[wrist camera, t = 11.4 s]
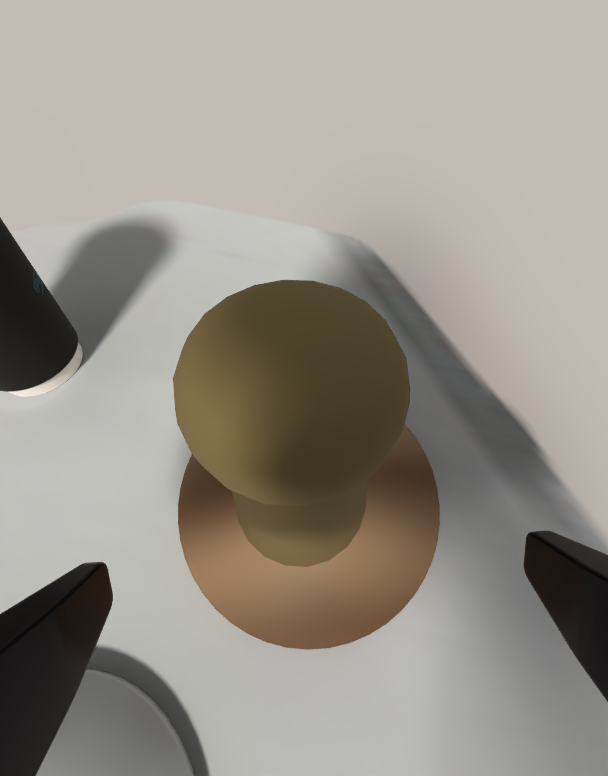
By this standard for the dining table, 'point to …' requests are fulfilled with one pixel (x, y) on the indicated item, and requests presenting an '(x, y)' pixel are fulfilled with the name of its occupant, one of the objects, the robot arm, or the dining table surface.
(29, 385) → the dixie cup
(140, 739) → the grey round disc
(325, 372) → the olive chess pawn
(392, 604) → the walnut trivet
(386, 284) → the dining table surface
